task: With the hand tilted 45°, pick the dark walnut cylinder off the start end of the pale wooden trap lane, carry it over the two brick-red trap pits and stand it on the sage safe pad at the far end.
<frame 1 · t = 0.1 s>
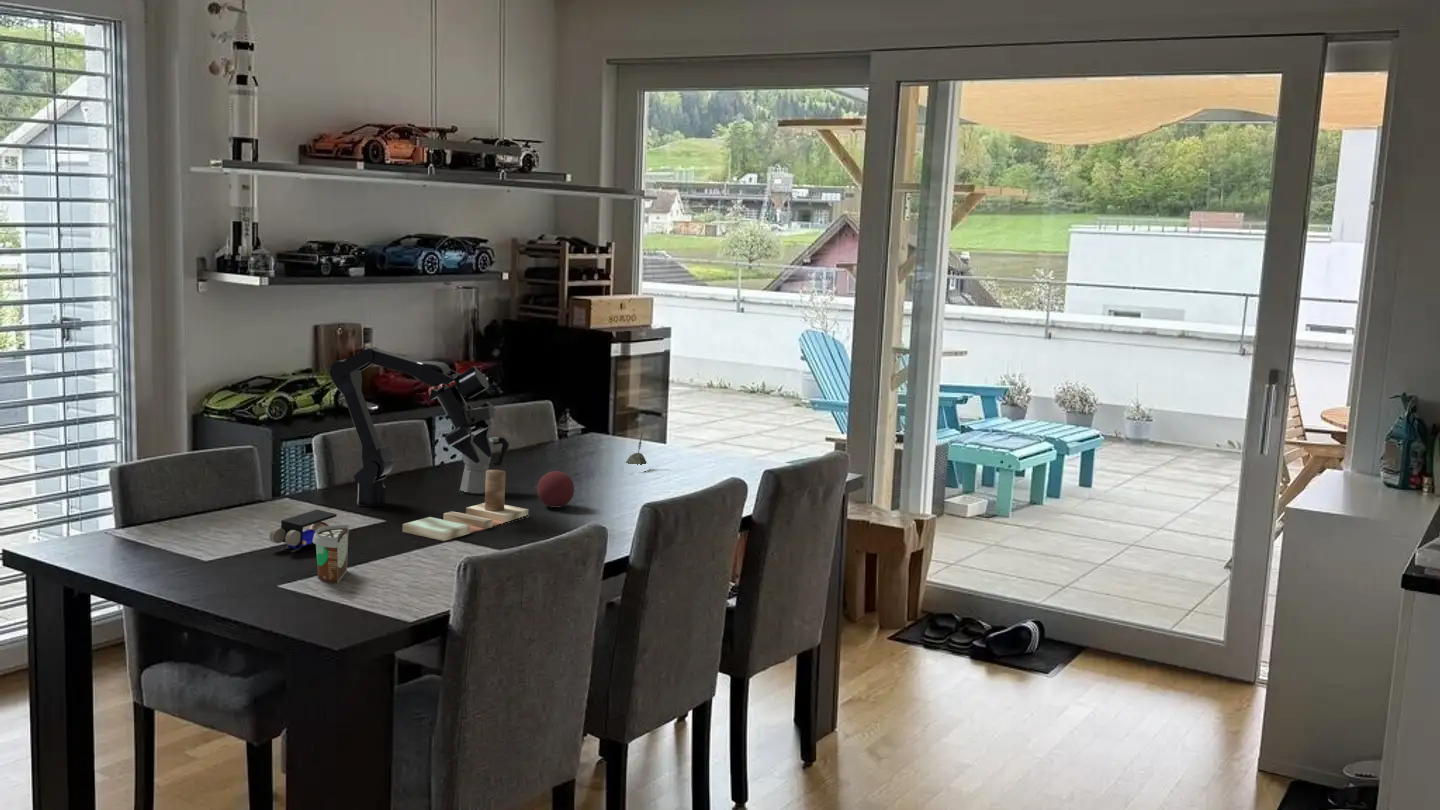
hand: (484, 459, 332), 15 cm above the table, tool tilted 35°, fingers open, 9 cm apart
coffeepot: (479, 492, 361), on the table
trap lane: (494, 516, 332), on the table
decorative ball: (554, 508, 347), on the table
sword in stone: (636, 471, 405), on the table
figurine character: (304, 548, 293), on the table
walnut cylinder: (494, 509, 332), point 2 cm above the table, touching trap lane
food container: (327, 577, 271), on the table
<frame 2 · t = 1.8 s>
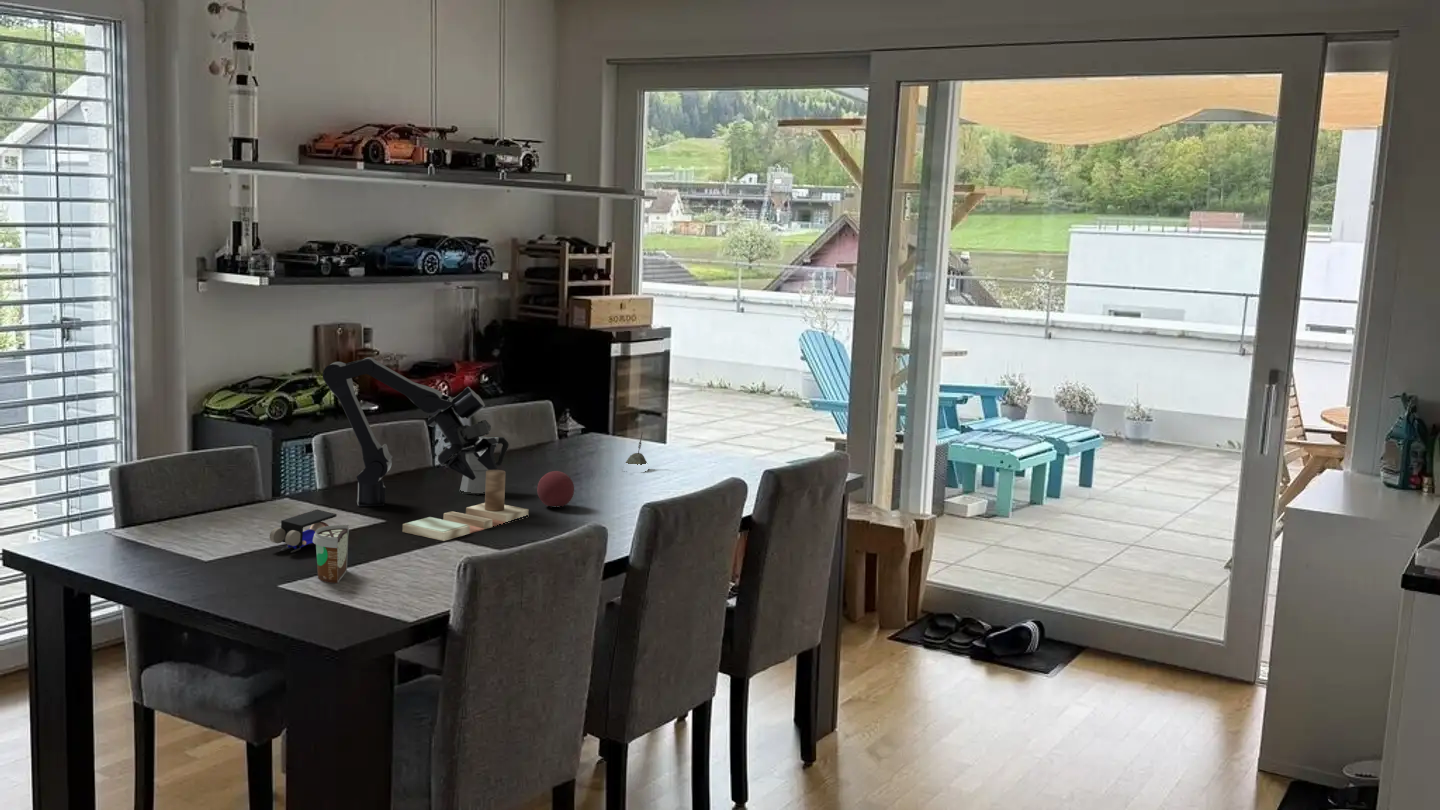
hand: (485, 476, 333), 10 cm above the table, tool tilted 45°, fingers open, 9 cm apart
nothing on the table moved.
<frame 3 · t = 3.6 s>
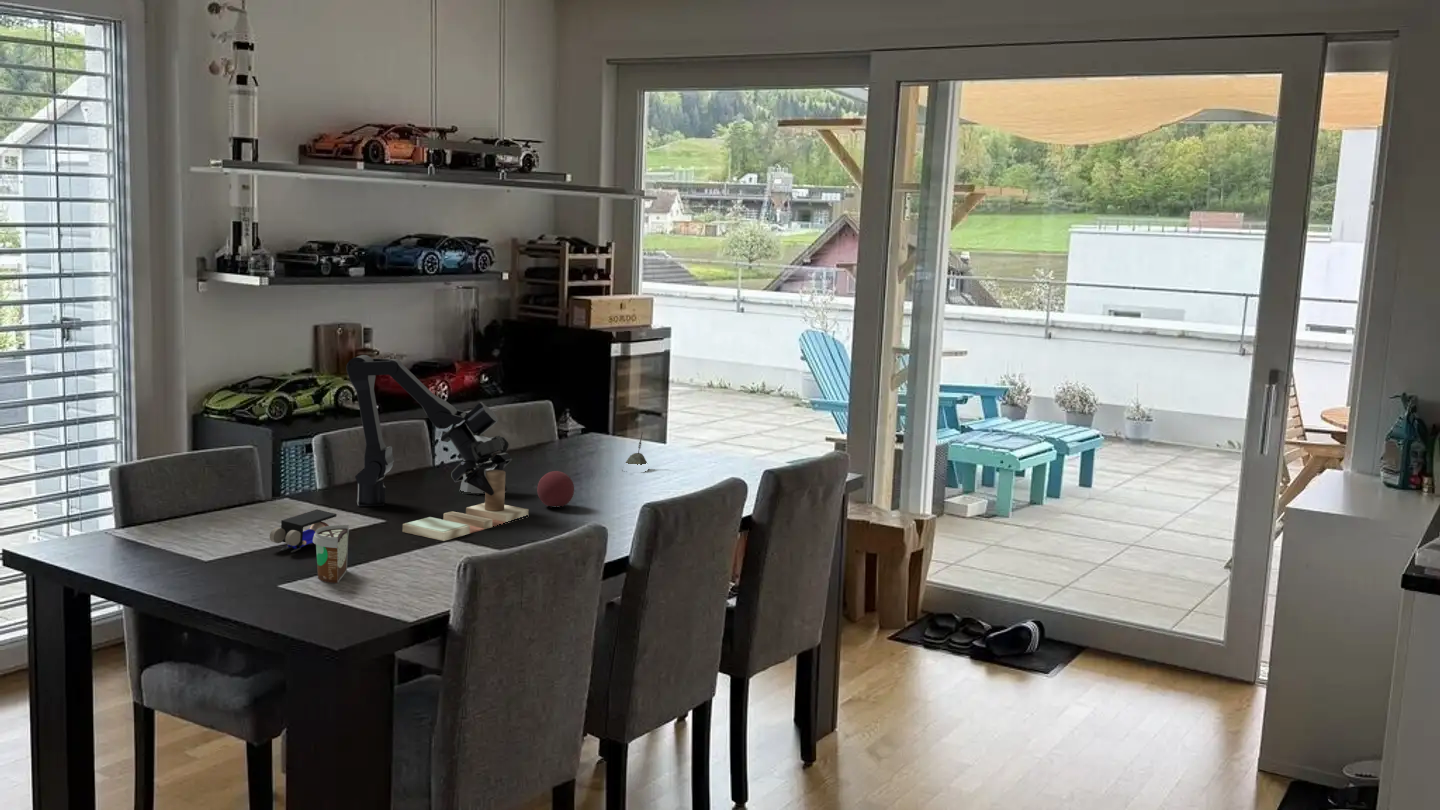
hand: (499, 492, 331), 7 cm above the table, tool tilted 45°, fingers closed on walnut cylinder, 5 cm apart
walnut cylinder: (494, 509, 332), point 2 cm above the table, touching gripper, trap lane
everything else where it was.
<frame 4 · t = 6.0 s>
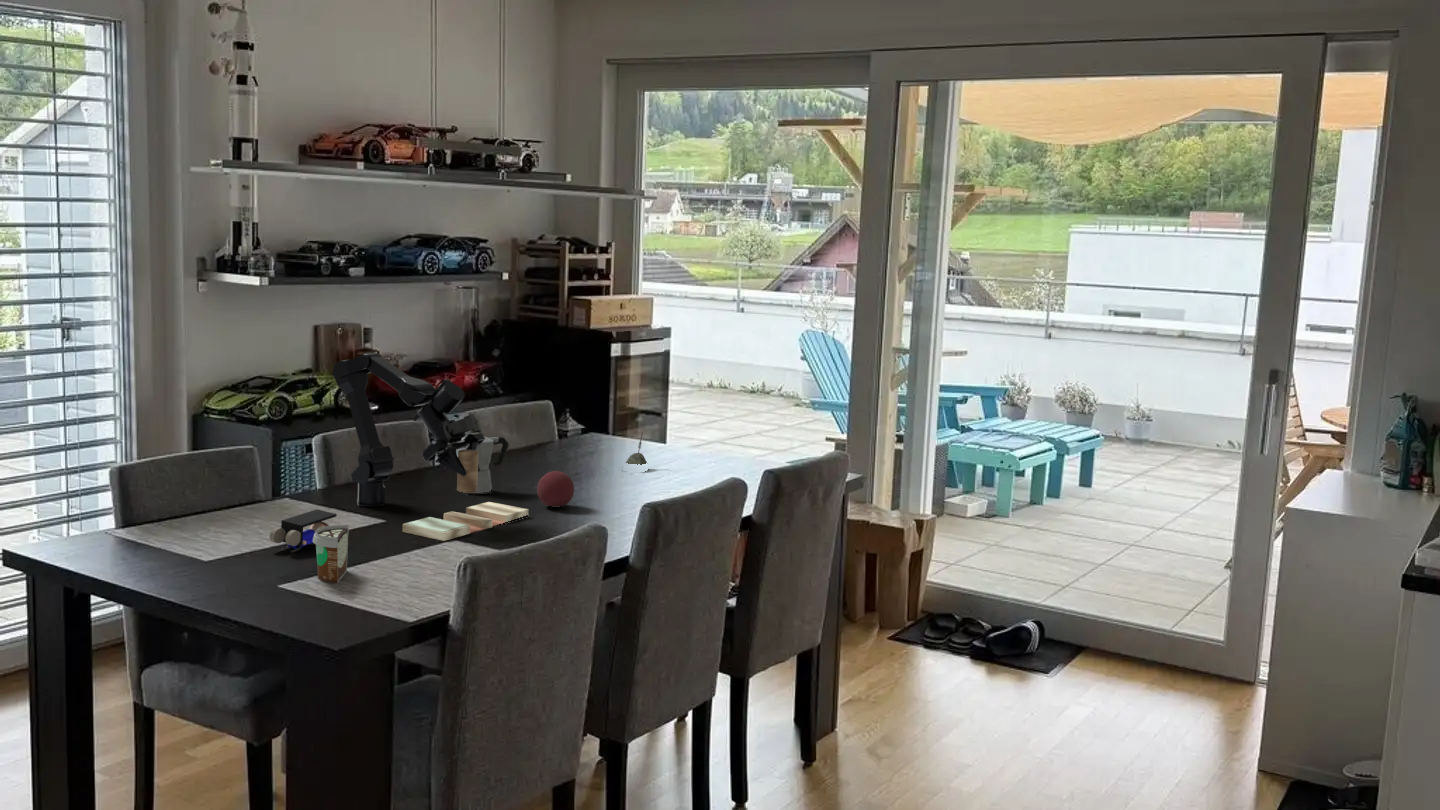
hand: (471, 473, 320), 13 cm above the table, tool tilted 45°, fingers closed on walnut cylinder, 5 cm apart
walnut cylinder: (467, 490, 321), point 9 cm above the table, touching gripper
everything else where it was.
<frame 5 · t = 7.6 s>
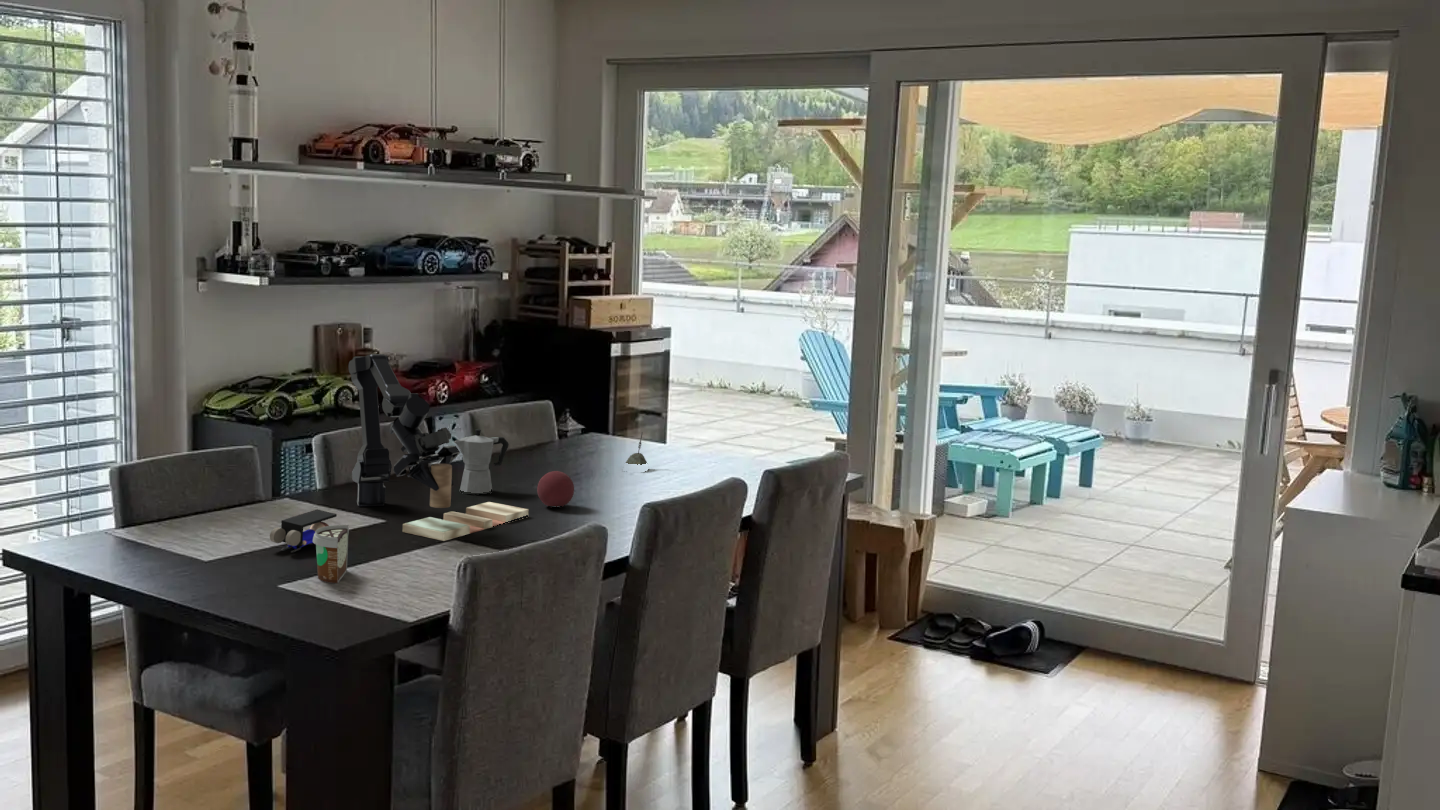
hand: (445, 488, 312), 11 cm above the table, tool tilted 45°, fingers closed on walnut cylinder, 5 cm apart
walnut cylinder: (440, 505, 313), point 7 cm above the table, touching gripper
everything else where it was.
when the fingers open (7 cm above the table, at t = 8.7 s): walnut cylinder stays where it is, resting on trap lane.
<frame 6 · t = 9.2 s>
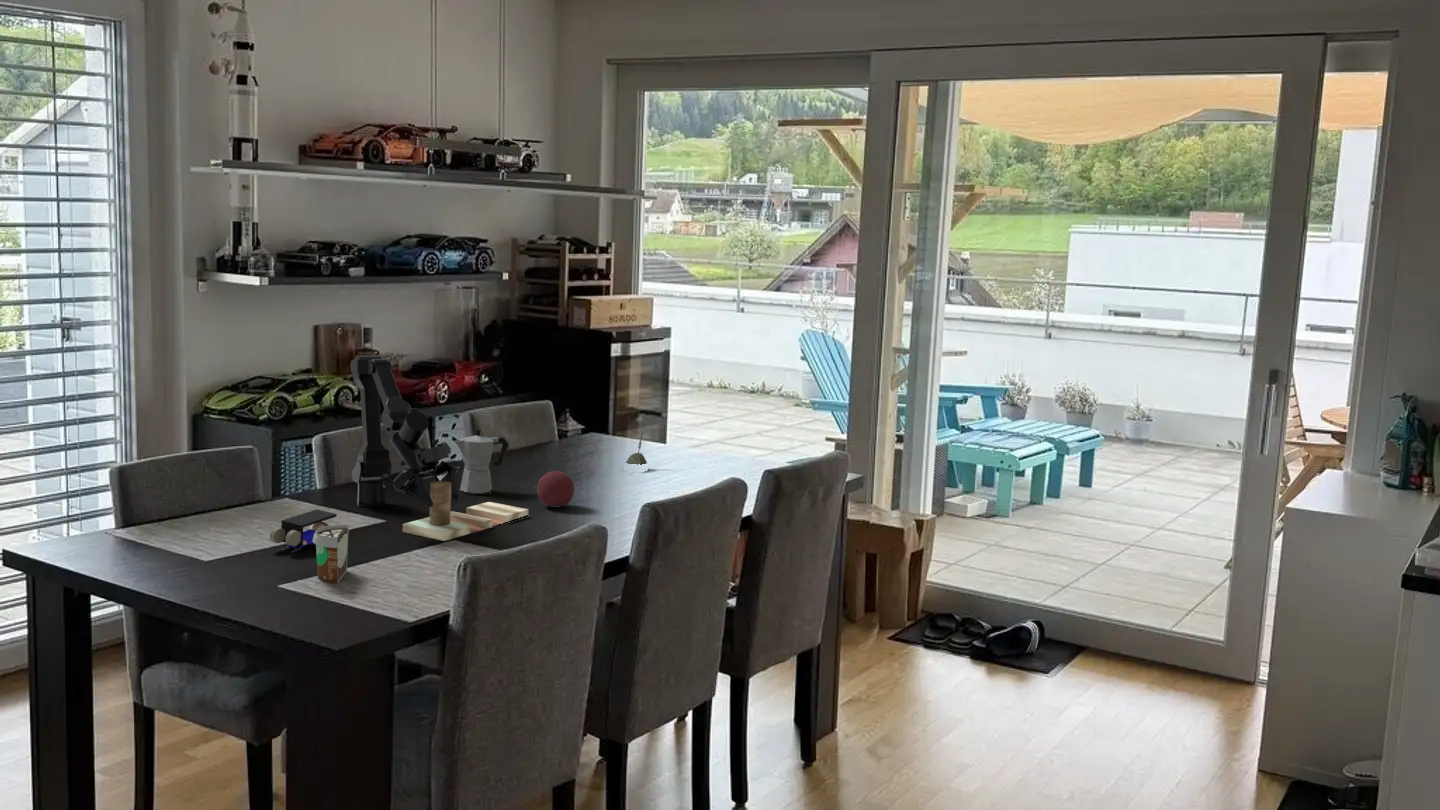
hand: (444, 502, 312), 8 cm above the table, tool tilted 45°, fingers open, 9 cm apart
walnut cylinder: (439, 523, 314), point 2 cm above the table, touching trap lane
everything else where it was.
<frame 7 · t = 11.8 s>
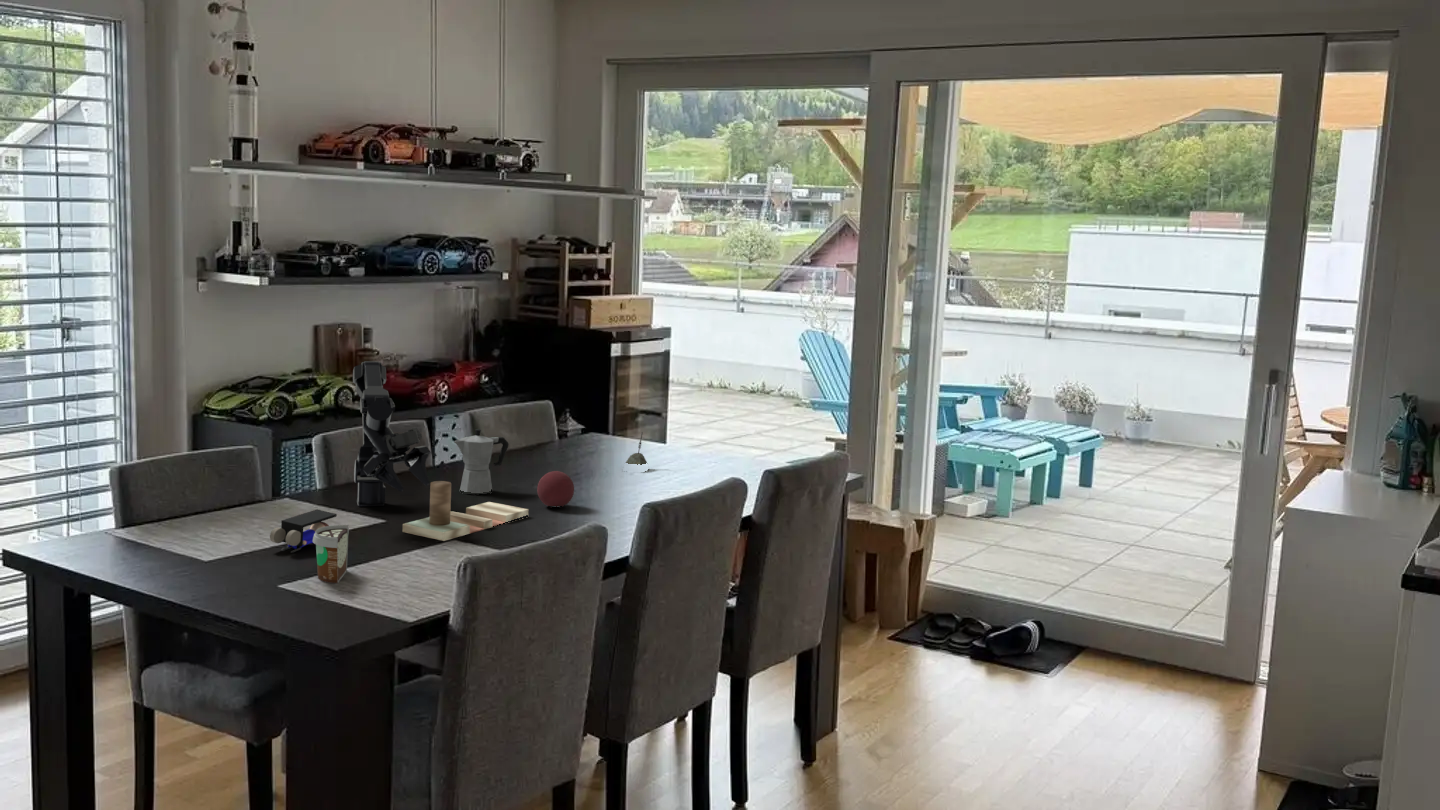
hand: (415, 487, 316), 10 cm above the table, tool tilted 45°, fingers open, 9 cm apart
nothing on the table moved.
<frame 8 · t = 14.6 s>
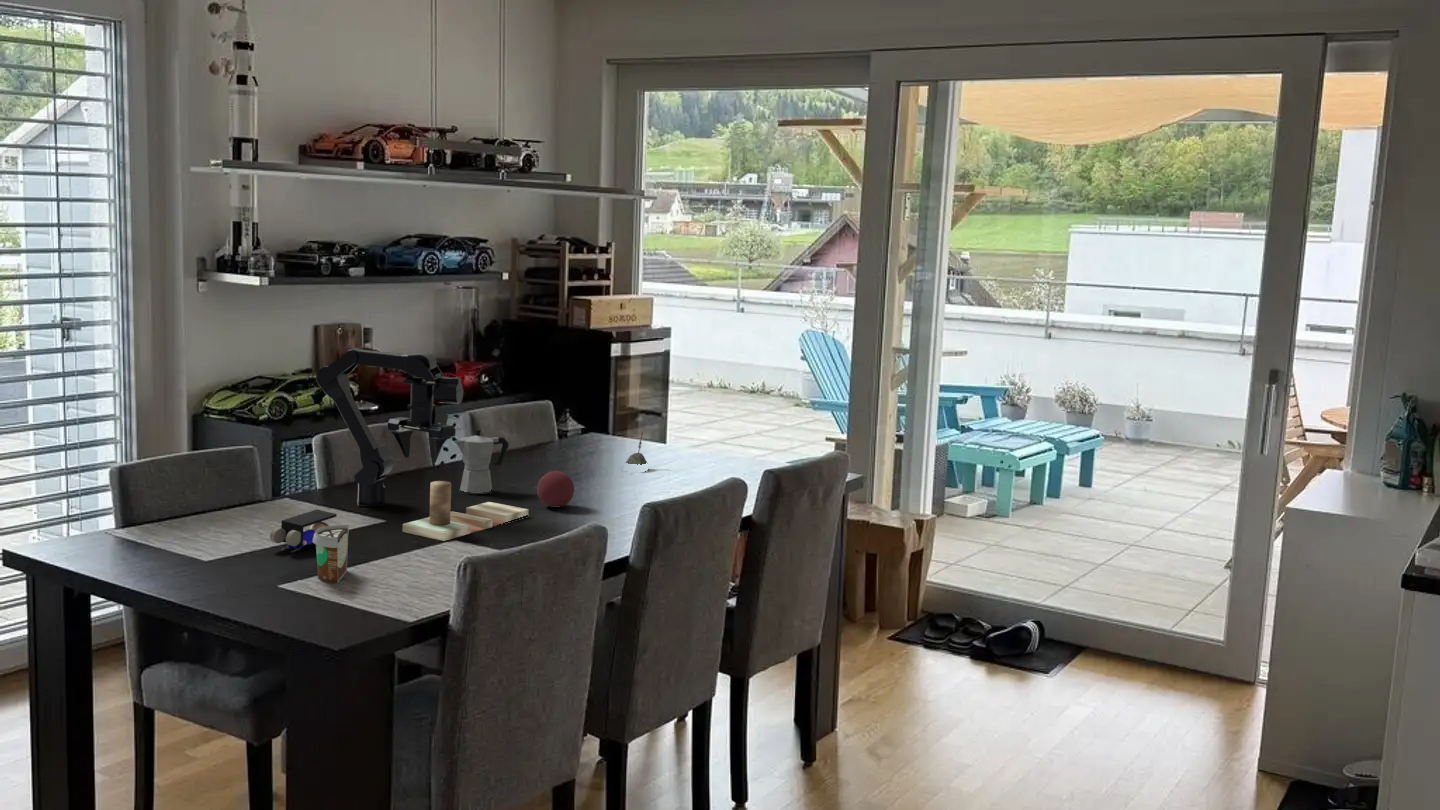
hand: (420, 459, 335), 13 cm above the table, tool pointing down, fingers open, 9 cm apart
nothing on the table moved.
at the end: walnut cylinder inside the target area (0.1 cm from its centre), point 2.2 cm above the table; walnut cylinder tilted 0°; the gripper is holding nothing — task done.
